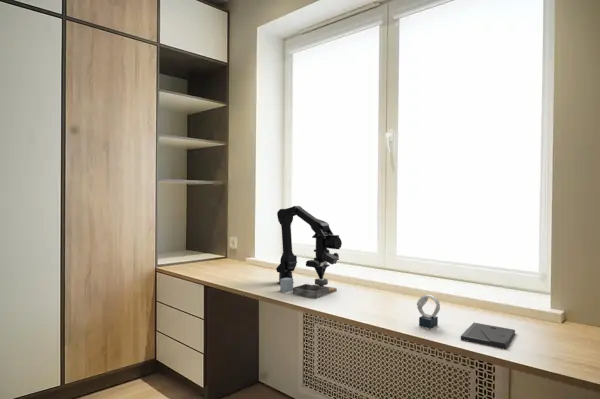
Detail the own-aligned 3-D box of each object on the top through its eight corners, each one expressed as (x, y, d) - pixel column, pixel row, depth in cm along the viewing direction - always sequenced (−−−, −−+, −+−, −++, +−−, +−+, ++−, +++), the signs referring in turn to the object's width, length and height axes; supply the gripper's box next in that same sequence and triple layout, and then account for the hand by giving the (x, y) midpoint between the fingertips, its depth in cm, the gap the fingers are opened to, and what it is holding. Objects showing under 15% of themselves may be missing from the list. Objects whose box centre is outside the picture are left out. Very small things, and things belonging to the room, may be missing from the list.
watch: (421, 321, 150) (422, 292, 150) (442, 326, 145) (442, 295, 145) (414, 324, 147) (414, 294, 146) (434, 329, 141) (435, 298, 141)
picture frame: (505, 351, 124) (514, 335, 138) (505, 343, 124) (515, 328, 138) (460, 341, 131) (473, 327, 146) (460, 334, 131) (473, 321, 146)
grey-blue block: (280, 291, 196) (280, 279, 196) (286, 289, 200) (286, 277, 200) (286, 292, 194) (286, 280, 194) (293, 290, 198) (293, 278, 198)
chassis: (292, 294, 191) (292, 287, 190) (313, 287, 205) (313, 281, 205) (316, 298, 182) (316, 291, 182) (336, 291, 197) (336, 284, 197)
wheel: (312, 284, 197) (312, 279, 197) (319, 281, 202) (319, 277, 202) (323, 285, 194) (323, 281, 194) (330, 283, 199) (330, 278, 199)
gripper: (324, 251, 186) (324, 284, 186) (345, 247, 201) (344, 278, 201) (305, 249, 192) (305, 281, 192) (326, 245, 207) (326, 275, 207)
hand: (321, 279), depth 198 cm, fingers closed, pressing on wheel
